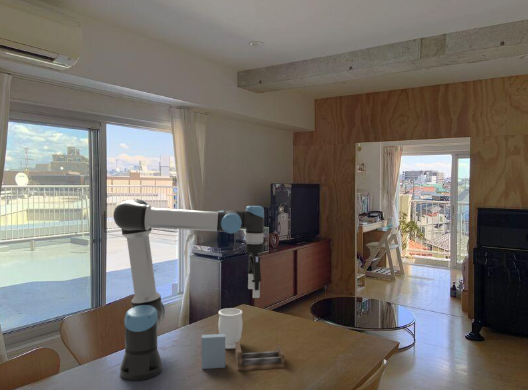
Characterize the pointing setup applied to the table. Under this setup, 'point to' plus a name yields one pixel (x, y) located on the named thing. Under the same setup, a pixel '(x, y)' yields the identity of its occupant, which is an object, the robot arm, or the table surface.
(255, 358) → the wooden rod frame
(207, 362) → the blue-gray rectangular block
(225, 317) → the jar
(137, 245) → the robot arm
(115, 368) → the table surface
